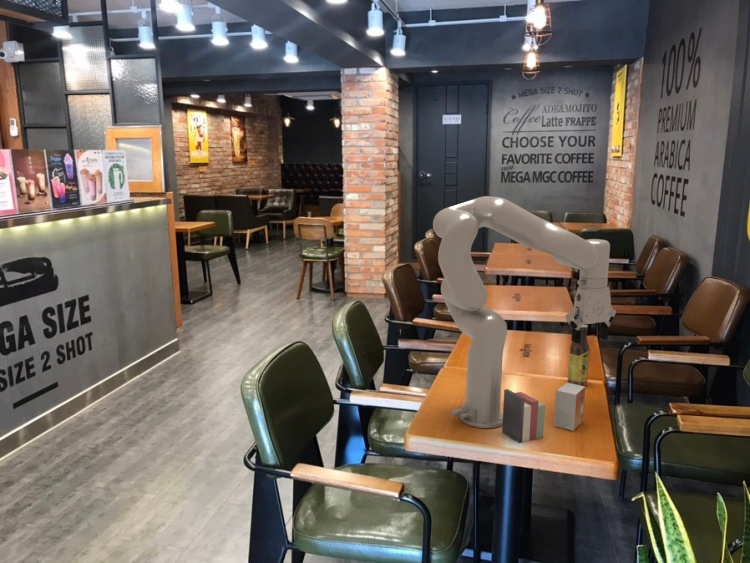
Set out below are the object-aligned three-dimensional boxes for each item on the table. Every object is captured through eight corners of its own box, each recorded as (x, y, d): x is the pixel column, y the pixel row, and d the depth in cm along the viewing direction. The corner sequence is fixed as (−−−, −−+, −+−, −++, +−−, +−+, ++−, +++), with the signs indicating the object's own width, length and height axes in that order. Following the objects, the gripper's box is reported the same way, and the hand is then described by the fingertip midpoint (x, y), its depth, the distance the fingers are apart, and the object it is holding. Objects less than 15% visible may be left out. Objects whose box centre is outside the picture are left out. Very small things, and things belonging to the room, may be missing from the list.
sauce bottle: (584, 389, 187) (589, 329, 184) (564, 385, 191) (568, 326, 187) (589, 382, 193) (593, 324, 189) (569, 379, 196) (573, 322, 192)
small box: (573, 431, 156) (576, 394, 154) (553, 426, 160) (555, 390, 158) (583, 421, 163) (586, 386, 161) (563, 416, 166) (566, 381, 164)
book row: (519, 442, 150) (521, 398, 148) (502, 432, 156) (504, 389, 154) (543, 437, 153) (546, 393, 151) (525, 426, 159) (528, 385, 157)
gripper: (577, 287, 159) (574, 347, 163) (626, 282, 165) (622, 340, 169) (559, 282, 166) (556, 340, 169) (607, 278, 172) (603, 334, 176)
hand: (589, 340), depth 169 cm, fingers open, 9 cm apart
